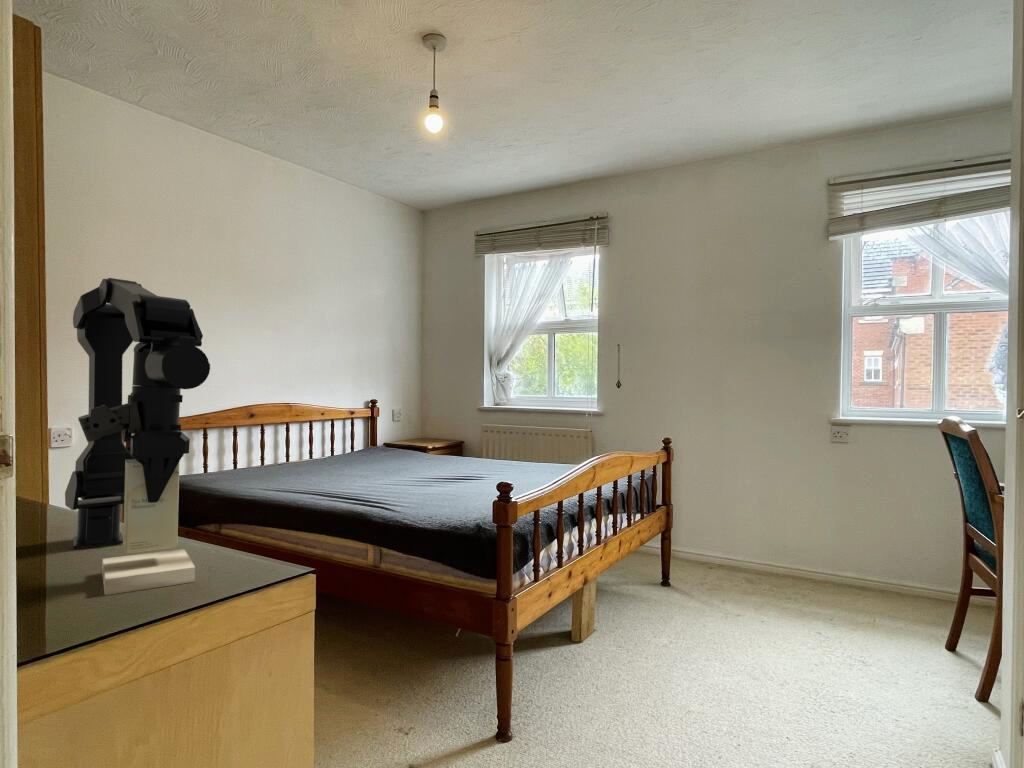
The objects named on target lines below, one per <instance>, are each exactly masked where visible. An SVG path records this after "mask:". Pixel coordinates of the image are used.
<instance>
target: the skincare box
mask: <svg viewBox="0 0 1024 768" xmlns="http://www.w3.org/2000/svg"><path fill="white" fill-rule="evenodd" d="M180 461H181V460H180ZM180 461H179V463H178V465H177V467H176V469H175V470H174V472H173V474H172V476H171V478H170V480H169V481H168V483H167V485H166V487H165V489H164V491H163V493H162V495H161V497H160V499H159V501H158V502H155V503H149V502H148V498H147V492H146V486H145V479H144V473H143V467H142V464H140V463H139V462H138V461H137V460H136V459H132V460H125V495H124V504H123V533H122V538H123V543H122V544H123V545H122V547H123V550H124V553H125V554H133V553H134V554H135V553H139V552H140V553H141V552H143V553H144V552H149V551H157V550H165V549H173V548H176V547H178V535H179V534H178V532H179V531H178V529H179V500H180V499H179V498H180V497H179V495H180V494H179V490H180V463H181V462H180Z"/></svg>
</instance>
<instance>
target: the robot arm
mask: <svg viewBox="0 0 1024 768" xmlns="http://www.w3.org/2000/svg"><path fill="white" fill-rule="evenodd" d="M72 325H73V328H74V329H76V339H77V342H78V344H80V346H81V347H82V349H83V351H85V353H86V354H87V356H88V413H87V414H85V415H80V416H78V418H77V419H78V422H79V425H80V426H81V430H82V432H83V434H84V437H85V439H86V442H87V446H85V448H84V449H83V451H82V452H81V453H80V455H79V456H78V457H77V459H76V460H75V469H74V471H72V473H71V475H70V479H69V481H68V483H67V485H66V489H65V492H64V503H65V506H66V507H67V508H69V509H71V511H75V510H77V525H76V535H75V536H74V537H73V539H72V540H73V541H72V542H73V545H72V548H73V549H82V548H83V549H84V548H90V547H91V548H92V547H102V546H112V545H119V544H123V533H122V532H120V529H121V527H120V526H121V507H122V505H124V495H125V460H132V459H136V460H137V461H138V462H139V463H140V464H142V467H143V473H144V479H145V486H146V492H147V498H148V502H149V503H155V502H158V501H159V499H160V497H161V495H162V493H163V491H164V489H165V487H166V485H167V483H168V481H169V480H170V478H171V476H172V474H173V472H174V470H175V469H176V467H177V465H178V463H179V461H181V459H182V458H183V457H184V455H185V454H190V445H191V444H190V442H191V441H190V440H191V439H190V438H189V437H188V436H187V435H186V434H185V433H183V431H182V424H180V411H181V410H180V408H181V403H183V398H184V397H183V395H182V394H181V390H192V389H195V388H197V387H199V386H201V385H202V384H203V383H205V381H206V380H207V379H208V377H209V375H210V372H211V371H210V370H211V363H210V362H209V359H208V357H207V355H206V353H204V352H203V350H202V349H200V348H199V347H202V343H203V342H202V340H203V333H202V331H201V327H200V326H199V323H198V320H197V318H196V315H195V312H194V309H193V308H191V305H190V302H188V300H187V299H181V298H175V297H168V296H160V295H156V294H155V293H153V292H151V291H150V290H148V289H146V288H144V287H143V286H142V284H141V283H137V282H136V281H135V280H133V281H132V280H129V279H128V280H126V279H121V278H114V277H113V278H112V277H108V278H102V280H101V282H100V284H99V286H98V287H96V288H93V289H91V290H90V291H87V292H85V293H83V294H81V296H80V297H79V299H78V301H77V304H76V306H75V308H74V310H73V316H72ZM133 342H135V343H137V344H135V345H134V347H133V370H132V384H131V385H132V386H131V392H130V394H128V395H127V403H124V404H123V356H124V354H125V352H126V351H127V350H128V349H129V347H130V346H131V345H132V344H133ZM123 442H124V443H129V442H130V444H127V445H125V444H124V443H123Z"/></svg>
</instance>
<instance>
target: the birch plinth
mask: <svg viewBox="0 0 1024 768" xmlns="http://www.w3.org/2000/svg"><path fill="white" fill-rule="evenodd" d="M101 564H102V565H101V566H102V567H101V568H102V569H101V578H102V584H103V591H104V596H108V595H109V596H111V595H116V594H121V593H122V594H124V593H130V592H136V591H144V590H149V589H150V590H151V589H156V588H161V587H163V588H164V587H168V586H169V587H170V586H175V585H183V584H189V583H195V581H196V580H195V579H196V578H195V577H196V566H195V564H194V563H193V561H192V559H191V558H190V556H189V555H188V553H187V551H186V550H185V548H183V549H174V550H166V551H156V552H149V553H139V554H132V555H130V554H129V555H122V556H115V557H106V558H102V563H101Z"/></svg>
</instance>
